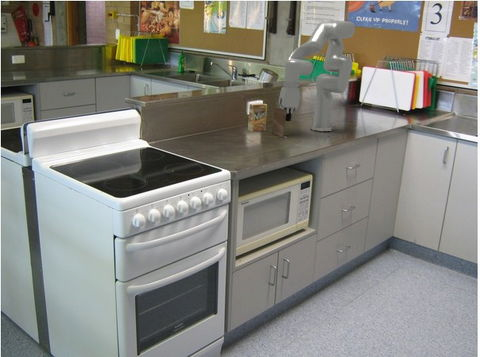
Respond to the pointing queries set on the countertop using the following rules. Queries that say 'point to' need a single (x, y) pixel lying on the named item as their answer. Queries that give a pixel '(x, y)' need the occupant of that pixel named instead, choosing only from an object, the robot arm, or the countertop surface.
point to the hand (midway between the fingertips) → (287, 120)
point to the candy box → (257, 117)
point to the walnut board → (279, 121)
